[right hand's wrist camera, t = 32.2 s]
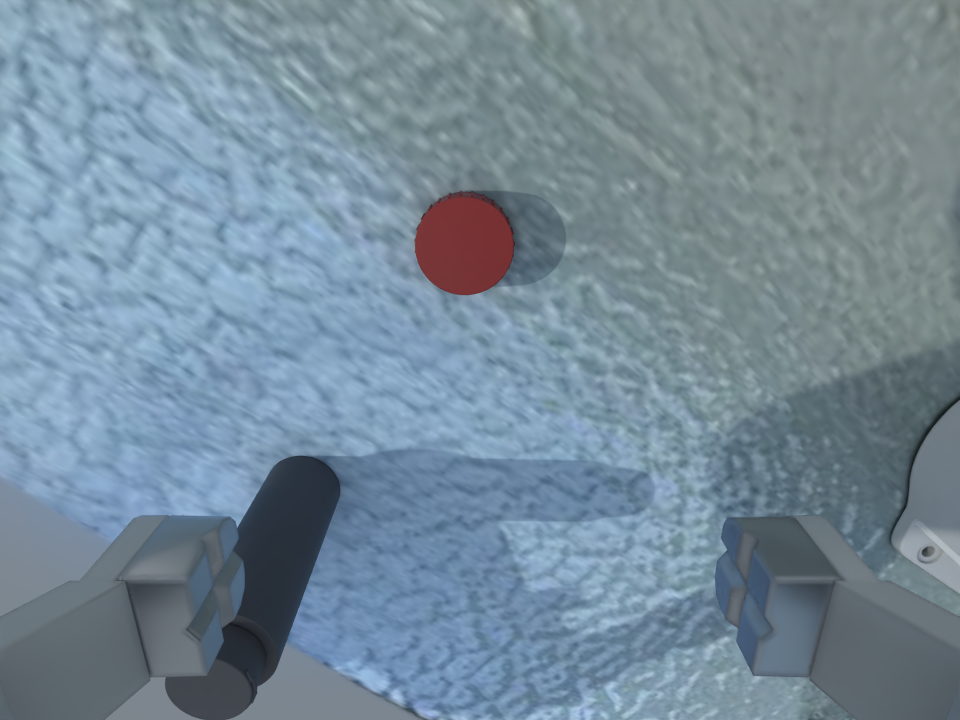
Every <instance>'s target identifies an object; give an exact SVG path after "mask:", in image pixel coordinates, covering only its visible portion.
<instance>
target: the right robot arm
mask: <svg viewBox="0 0 960 720" xmlns="http://www.w3.org/2000/svg"><path fill="white" fill-rule="evenodd" d="M238 539H239V535H238V531H237V526H236V521H234V520H233V519H232V518H231V517H221V516H174V515H172V516H168V515H142V516H139V517H136V518H134V519H133V520H132V521H131V522H130V523H129V524H128V525H127V527H126V528H125V529H124V530H123V531H122V532H121V534H120V535H119V536H118V537H117V538H116V539H115V540H114V542H113V543H112V544H111V545H110V546H109V547H108V549H107V550H106V551H105V552H104V553H103V554H102V556H101V557H100V558H99V559H98V560H97V561H96V562H95V564H94V565H93V566H92V567H91V568H90V570H89V571H88V572H87V573H86V574H85V575H84V576H83V578H82V579H81V580H80V581H69V582H67V583H65V584H63V585H61V586H59V587H57V588H55V589H53V590H51V591H49V592H47V593H45V594H43V595H41V596H40V597H38V598H36V599H34V600H32V601H30V602H28V603H26V604H24V605H22V606H20V607H18V608H16V609H14V610H12V611H11V612H9V613H7V614H5V615H3V616H1V617H0V720H105V719H106V718H107V717H108V716H109V715H111V714H112V713H113V712H114V711H115V710H116V709H118V708H119V707H120V706H121V705H122V704H123V703H124V702H126V701H127V700H128V699H129V698H130V697H132V696H133V695H134V694H135V693H136V692H137V691H138V690H140V689H141V688H142V687H143V686H144V685H146V684H147V683H148V682H149V681H150V677H179V676H207V674H208V672H209V670H210V668H211V666H212V664H213V662H214V660H215V658H216V656H217V654H218V652H219V650H220V648H221V646H222V644H223V642H224V639H223V634H222V628H223V627H224V626H226V625H227V624H228V623H230V622H231V621H233V620H234V619H235V617H236V615H237V612H238V610H239V608H240V606H241V602H242V597H243V593H244V588H245V571H244V564H243V560H242V559H241V558H240V557H239V556H238V555H237V554H236V553H235V552H234V551H233V548H234V546H235V545H236V543H237V541H238ZM721 539H722V541H723V543H724V545H725V546H726V548H727V551H726V552H725V553H724V554H723V555H722V556H721V557H720V558H719V559H718V560H717V565H716V573H715V584H716V595H717V598H718V602H719V605H720V608H721V610H722V613H723V615H724V617H725V619H726V620H727V621H729V622H730V623H732V624H733V625H734V626H736V627H737V628H738V634H737V639H736V642H737V644H738V646H739V648H740V650H741V652H742V654H743V656H744V658H745V660H746V662H747V664H748V666H749V668H750V670H751V672H752V674H753V676H780V677H810V681H811V682H812V683H814V684H815V685H816V686H817V687H818V688H819V689H821V690H822V691H823V692H824V693H825V694H826V695H828V696H829V697H830V698H831V699H832V700H833V701H835V702H836V703H837V704H838V705H839V706H840V707H842V708H843V709H844V710H845V711H846V712H847V713H849V714H850V715H851V716H852V717H853V718H854V719H856V720H960V617H959V616H957V615H955V614H953V613H951V612H949V611H947V610H945V609H944V608H942V607H940V606H938V605H936V604H934V603H932V602H930V601H928V600H926V599H924V598H922V597H920V596H918V595H917V594H915V593H913V592H911V591H909V590H907V589H905V588H903V587H901V586H899V585H897V584H895V583H893V582H891V581H880V580H879V579H878V578H877V576H876V575H875V574H874V573H873V572H872V571H871V569H870V568H869V567H868V566H867V565H866V564H865V563H864V561H863V560H862V559H861V558H860V557H859V556H858V554H857V553H856V552H855V551H854V550H853V549H852V547H851V546H850V545H849V544H848V543H847V542H846V541H845V539H844V538H843V537H842V536H841V535H840V534H839V532H838V531H837V530H836V529H835V528H834V527H833V525H832V524H831V523H830V522H829V521H828V520H827V519H826V518H824V517H822V516H820V515H802V516H788V517H727V519H726V521H725V523H724V525H723V530H722V535H721ZM891 543H892V545H893V547H894V548H895V549H896V550H897V551H899V552H900V553H901V554H902V555H904V556H905V557H906V558H908V559H909V560H911V561H912V562H913V563H915V564H916V565H918V566H919V567H921V568H922V569H924V570H925V571H927V572H928V573H930V574H931V575H933V576H934V577H936V578H937V579H938V580H940V581H941V582H943V583H944V584H946V585H947V586H949V587H950V588H952V589H953V590H955V591H956V592H958V593H959V594H960V400H959V401H958V402H957V403H955V404H954V405H953V406H952V407H951V408H950V409H949V410H948V411H947V412H946V413H945V414H944V415H943V416H942V417H941V418H940V419H939V420H938V421H937V423H936V424H935V425H934V426H933V428H932V429H931V430H930V432H929V433H928V435H927V436H926V438H925V440H924V441H923V443H922V445H921V447H920V449H919V451H918V453H917V455H916V458H915V461H914V464H913V467H912V471H911V476H910V484H909V497H908V502H907V506H906V509H905V510H904V512H903V514H902V515H901V517H900V519H899V521H898V523H897V524H896V526H895V528H894V531H893V533H892V537H891Z"/></svg>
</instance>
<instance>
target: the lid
mask: <svg viewBox="0 0 960 720" xmlns="http://www.w3.org/2000/svg"><path fill="white" fill-rule="evenodd" d="M473 192H474V191H472V192H462V191H460V192H459V193H453V194H451V193H449V195H447V196H445V197H443V198H439V199H438V201H437V202H436V203H434V204H433V205H432V204H431V205H430V207H429V209H428V211H427V213H426V214H425V213H424V215H423V216H422V218H421V220H422V221H421V223H420V224H419V225H418V227H417V234H416V238H415V253H416V257H417V260H418V263H419V266H420V268H421V270H422V271H423V273H424V274H425V276H426V277H427V278H428V279H429V280H430V281H431V282H432V283H433V284H434V285H436V286H437V287H439V288H440V289H442V290H444V291H447V292H449V293H453V294H458V295H472V294H477V293H480V292H483V291H485V290H487V289H489V288H491V287H492V286H494V285H495V284H496V283H498V282H499V281H500V280H501V279H502V277H503V276H504V275H505V273H506V272H507V270H508V268H509V267H510V264H511V261H512V257H513V256H514V255H513V251H514V246H515V243H514V239H513V236H512V234H514V233H513V230H512V227H511V228H510V224H509V223H510V222H509V218H508V217H506V216H505V214H504V212H503V209H502V207H501V208H500V207H499V206H498V205H497V204H496V203H495V202H494V200H490V199H489V198H487V197H485V195H484V194H483V195H480V194H476V193H473Z"/></svg>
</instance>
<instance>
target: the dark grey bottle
mask: <svg viewBox="0 0 960 720" xmlns="http://www.w3.org/2000/svg"><path fill="white" fill-rule="evenodd" d="M339 496H340V485H339V481H338V479H337V477H336V475H335V473H334V472H333V471H332V470H331V469H330V468H329V467H328V466H327V465H326V464H324V463H323V462H321V461H319V460H317V459H314V458H311V457H305V456H295V457H290V458H287V459H284V460H282V461H280V462H279V463H278V464H276V465H275V466H274V467H273V468H272V470H271V471H270V473H269V475H268V476H267V478H266V480H265V482H264V483H263V485H262V487H261V488H260V490H259V492H258V494H257V495H256V497H255V499H254V500H253V502H252V504H251V505H250V507H249V509H248V511H247V512H246V514H245V516H244V517H243V519H242V521H241V523H240V524H239V526H238V528H237V531H238V535H239V539H238V541H237V543H236V545H235V546H234V548H233V551H234V552H235V553H236V554H237V555H238V556H239V557H240V558H241V559H242V560H243V564H244V571H245V588H244V593H243V597H242V602H241V606H240V608H239V610H238V612H237V615H236V617H235V619H234V620H233V621H231V622H230V623H228V624H227V625H226V626H224V627H223V628H222V634H223V639H224V642H223V644H222V646H221V648H220V650H219V652H218V654H217V656H216V658H215V660H214V662H213V664H212V666H211V668H210V670H209V672H208V674H207V676H179V677H166V680H165V688H166V692H167V694H168V697H169V698H170V700H171V701H172V702H173V704H174V705H175V706H177V707H178V708H179V709H180V710H182V711H183V712H185V713H186V714H189V715H191V716H193V717H196V718H199V719H203V720H226V719H230V718H233V717H235V716H237V715H239V714H241V713H242V712H243V711H244V710H245V709H247V708H248V706H249V705H250V704H251V703H253V701H254V699H255V697H256V694H257V686H259V685H261V684H263V683H264V682H266V681H267V680H268V679H269V678H270V677H271V676H272V675H273V674H274V672H275V670H276V668H277V665H278V663H279V660H280V657H281V655H282V652H283V649H284V646H285V644H286V641H287V638H288V636H289V633H290V630H291V627H292V625H293V622H294V619H295V616H296V614H297V611H298V608H299V606H300V603H301V600H302V597H303V595H304V592H305V589H306V587H307V584H308V581H309V578H310V576H311V573H312V570H313V567H314V565H315V562H316V559H317V557H318V554H319V551H320V548H321V546H322V543H323V540H324V538H325V535H326V532H327V529H328V527H329V524H330V521H331V518H332V516H333V513H334V510H335V508H336V505H337V502H338V499H339Z"/></svg>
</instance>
